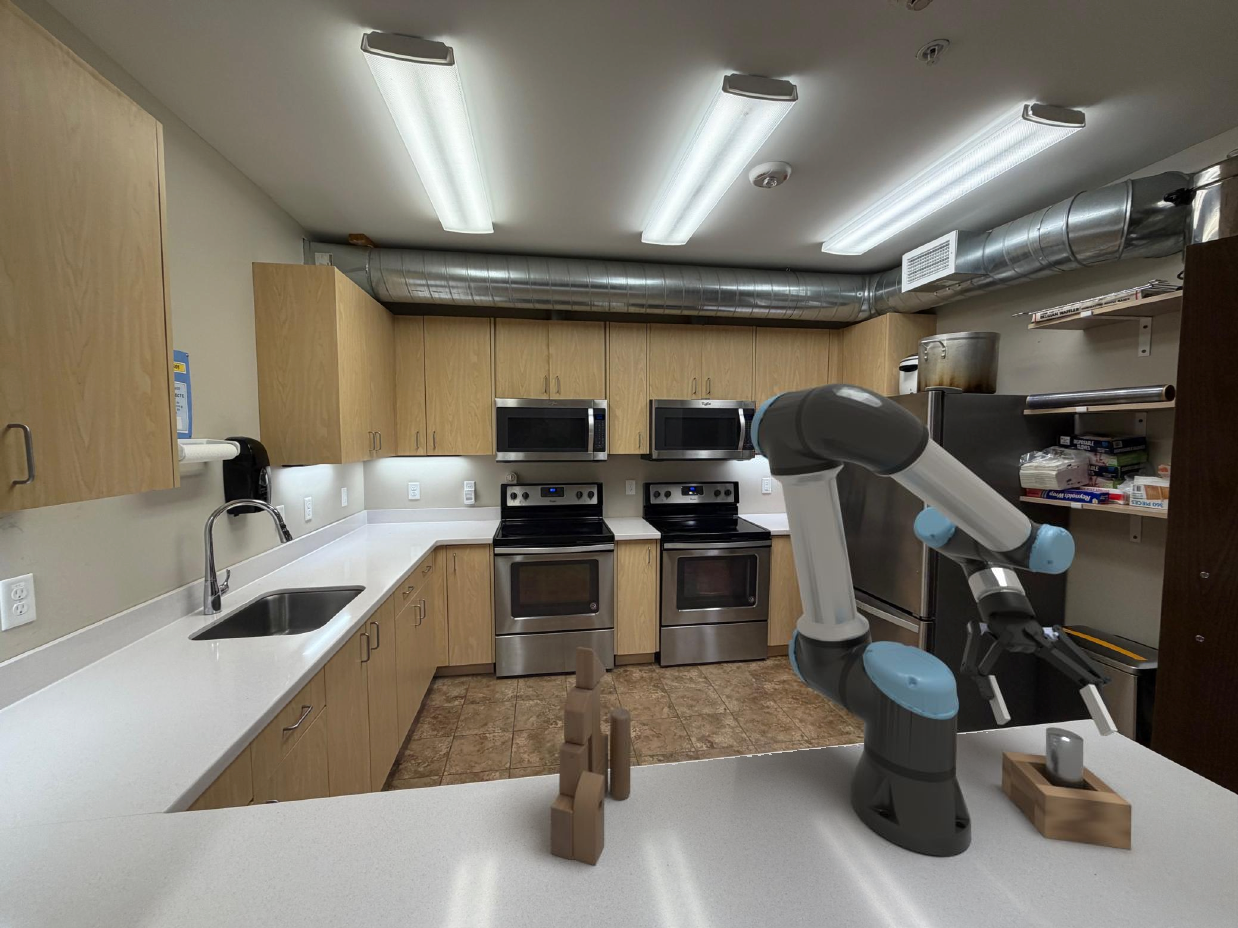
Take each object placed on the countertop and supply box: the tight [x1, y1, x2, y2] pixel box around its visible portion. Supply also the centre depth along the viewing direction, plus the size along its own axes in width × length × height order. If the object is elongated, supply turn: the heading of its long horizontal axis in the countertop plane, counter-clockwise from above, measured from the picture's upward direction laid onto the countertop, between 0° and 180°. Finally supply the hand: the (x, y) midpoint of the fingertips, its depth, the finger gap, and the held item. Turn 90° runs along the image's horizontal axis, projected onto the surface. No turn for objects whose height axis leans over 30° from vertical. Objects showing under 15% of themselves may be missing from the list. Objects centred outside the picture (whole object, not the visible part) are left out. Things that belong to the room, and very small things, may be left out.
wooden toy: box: [550, 646, 632, 866], centre depth 69 cm, size 15×7×25 cm, turn 161°
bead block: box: [1001, 751, 1133, 850], centre depth 70 cm, size 10×10×6 cm
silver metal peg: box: [1045, 727, 1084, 790], centre depth 70 cm, size 4×4×12 cm
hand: (1055, 727), depth 72 cm, fingers open, 13 cm apart
